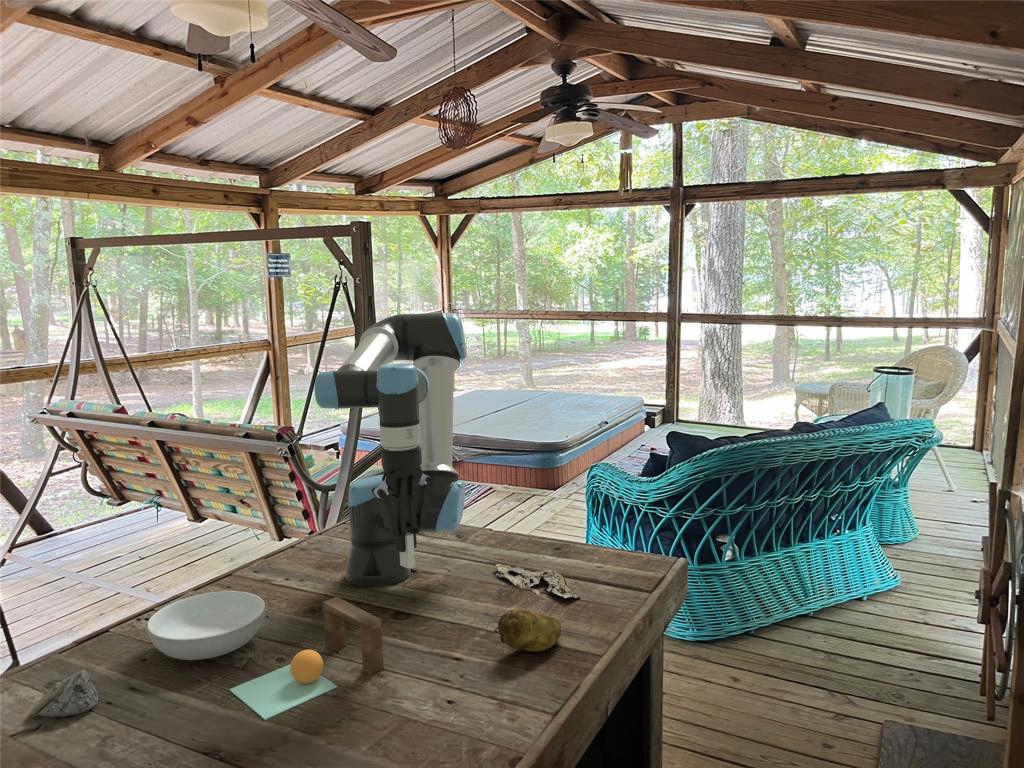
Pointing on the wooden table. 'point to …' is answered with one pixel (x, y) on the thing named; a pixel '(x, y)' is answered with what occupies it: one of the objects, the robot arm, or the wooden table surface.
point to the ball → (306, 666)
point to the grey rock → (68, 697)
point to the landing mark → (279, 692)
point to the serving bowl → (206, 624)
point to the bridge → (368, 624)
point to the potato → (528, 630)
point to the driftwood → (536, 580)
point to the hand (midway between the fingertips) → (407, 565)
